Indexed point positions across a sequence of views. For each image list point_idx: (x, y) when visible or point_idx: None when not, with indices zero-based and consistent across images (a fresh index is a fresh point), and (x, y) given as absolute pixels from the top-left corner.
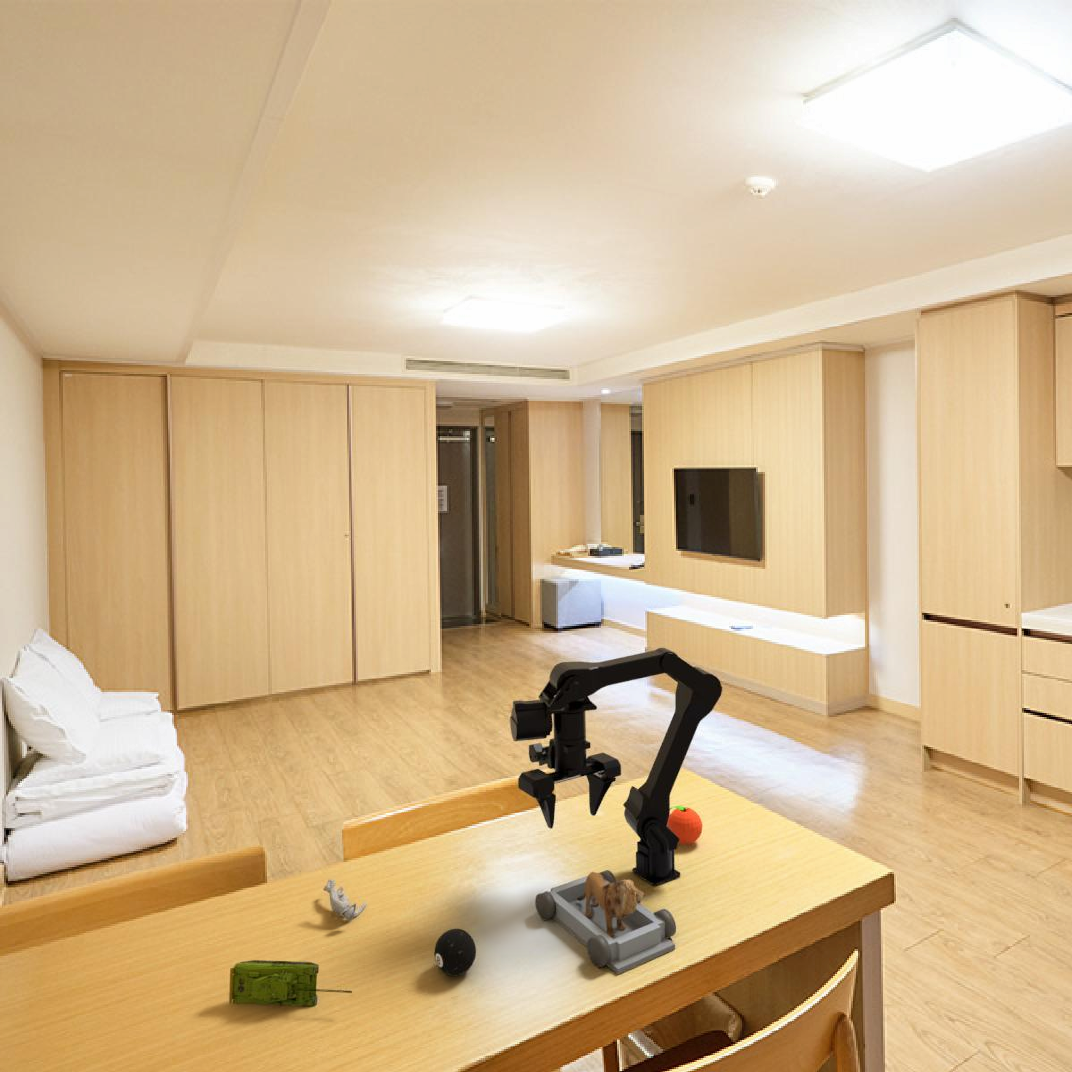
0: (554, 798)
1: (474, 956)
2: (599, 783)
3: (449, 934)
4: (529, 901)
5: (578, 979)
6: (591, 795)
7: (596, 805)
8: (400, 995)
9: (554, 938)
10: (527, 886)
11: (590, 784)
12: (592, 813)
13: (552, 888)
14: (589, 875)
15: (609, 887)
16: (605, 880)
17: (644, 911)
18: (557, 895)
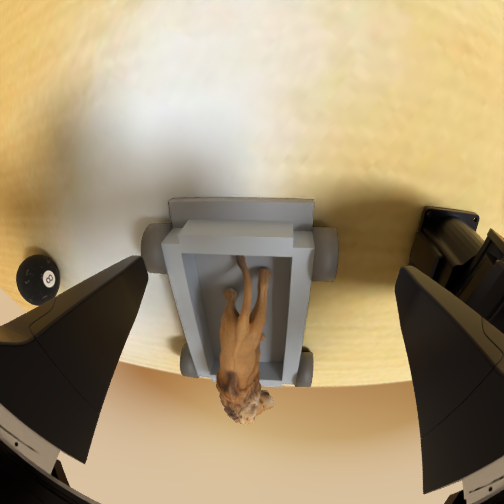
0: (83, 447)
1: (55, 295)
2: (440, 466)
3: (20, 293)
4: (162, 171)
5: (164, 347)
6: (444, 346)
7: (406, 350)
8: (19, 265)
9: (162, 286)
10: (183, 112)
11: (488, 386)
12: (399, 286)
13: (181, 235)
14: (227, 341)
15: (223, 395)
16: (308, 276)
17: (290, 365)
18: (180, 263)
